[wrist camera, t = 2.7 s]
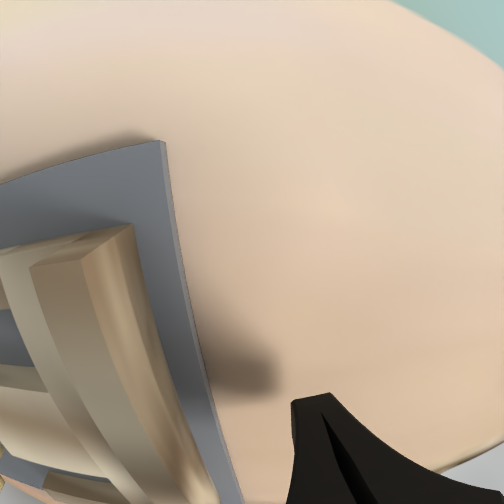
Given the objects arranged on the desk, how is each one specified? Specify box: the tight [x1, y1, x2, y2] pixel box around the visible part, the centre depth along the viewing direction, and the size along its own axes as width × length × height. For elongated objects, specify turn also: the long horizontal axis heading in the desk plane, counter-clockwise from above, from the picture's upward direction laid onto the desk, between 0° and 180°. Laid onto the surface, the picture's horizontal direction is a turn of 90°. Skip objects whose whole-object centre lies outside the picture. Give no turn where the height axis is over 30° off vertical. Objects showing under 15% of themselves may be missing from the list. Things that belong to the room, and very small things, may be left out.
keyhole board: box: [0, 140, 244, 504], centre depth 8 cm, size 18×19×4 cm
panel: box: [0, 224, 221, 504], centre depth 7 cm, size 14×10×3 cm
